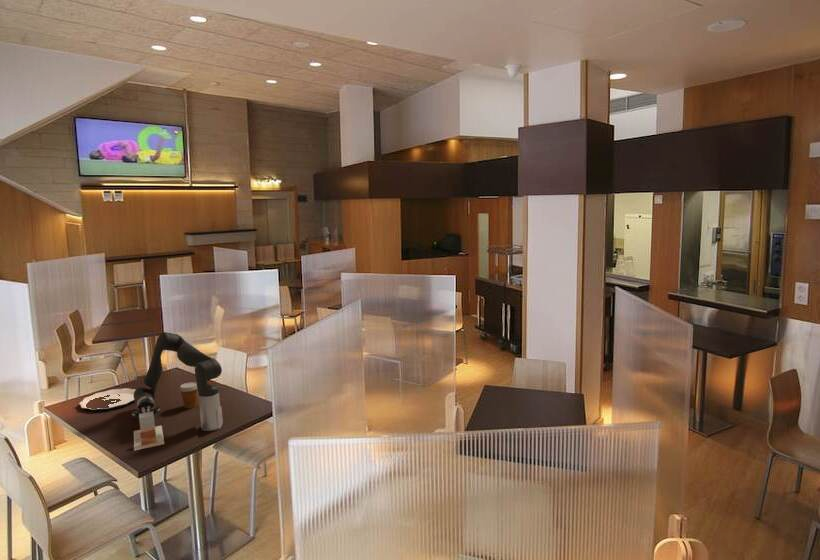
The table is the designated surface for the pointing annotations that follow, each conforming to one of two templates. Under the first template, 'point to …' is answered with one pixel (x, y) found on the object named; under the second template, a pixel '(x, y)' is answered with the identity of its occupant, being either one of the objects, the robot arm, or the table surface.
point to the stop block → (148, 436)
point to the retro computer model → (146, 421)
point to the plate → (125, 397)
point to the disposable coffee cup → (189, 394)
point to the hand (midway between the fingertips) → (146, 417)
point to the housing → (158, 442)
